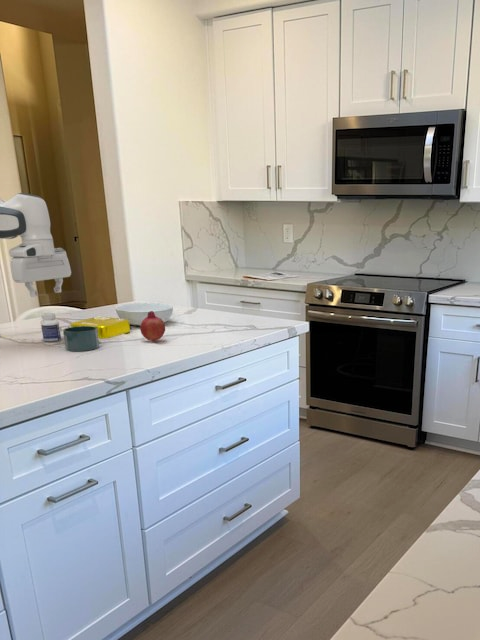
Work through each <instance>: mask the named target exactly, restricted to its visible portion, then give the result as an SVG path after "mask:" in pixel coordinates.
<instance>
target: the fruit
mask: <svg viewBox="0 0 480 640" xmlns="http://www.w3.org/2000/svg"><path fill="white" fill-rule="evenodd" d="M139 327H140V333H141V335H142V337H143V338H145V339H146V340H148V341H152V342H155V341H158V340H161V338H163V336H164V334H165V333H166V324H165V322H163V321H162V319H160V318H159V317H156V316H155V314H154V312H153V311H150V312H148V315H147V317H146V318H145V319H144V320H143V321H142V323H141V326H139Z"/></svg>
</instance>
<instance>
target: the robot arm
mask: <svg viewBox="0 0 480 640" xmlns="http://www.w3.org/2000/svg"><path fill="white" fill-rule="evenodd" d="M18 237H20V238H21V243H20V244H18V245H16V246H14V247H12V248H11V249H9V250H8V253H9V256H10V257H11V259H10V272H11V277H12V280H13V282H14V283H18V284H23V283H24V286H25V287H26V288H27V290H28V291H29V296H30V297H32V298H33V297H34V298H35V297H38V296H39V292H38V290H37V289H35V288H34V287H33V286H34V282H40V281H49V280H54V282H55V286H53V292H54V294H59V293H60V294H61V293H62V286H63V282H64V278H70V277H71V275H72V269H71V265H70V261H69V258H68V255H67V254H68V253H67V251H66V250H65V249H64V248H62V247H55V245H54V238H53V235H52V233H51V219H50V213H49V209H48V206H47V203H46V201H45V199H44V198H42V197H41V196H40V195H35V194H31V193H24V192H18V193H16V195H14V196H13V197H11V198H10V199H8V200H6V201H4V200H2V199H1V198H0V240H12V239H16V238H18Z"/></svg>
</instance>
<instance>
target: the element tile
mask: <svg viewBox="0 0 480 640" xmlns="http://www.w3.org/2000/svg"><path fill="white" fill-rule="evenodd" d="M79 326H91V327H96V328H97V331H98V339H99V340H100V339H101V340H102V339H103V340H104V339H110V338H113V337H117V336H119V335H123V334H124V335H125V334H127V333H128V334H129V333H130V332H131V324H130V323H129V320H128V319H120V318H119V317H118V318H117V317H109V316H103V315H98V316H94V317H89V318H85V319H82V320H76V321H73V322H71V323H70V327H79Z"/></svg>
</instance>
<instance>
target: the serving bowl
mask: <svg viewBox="0 0 480 640" xmlns="http://www.w3.org/2000/svg"><path fill="white" fill-rule="evenodd" d="M115 311H116V315H117V316H118V318H120V319H128V320H129V323H130V326H131V325H132V326H136V327H141V323H142V321H143V320H144V319H145V318H146V317H147V315H148V312H150V311H153V312H154V314H155V316H156V317H159V318H160V319H162V321H163V322H164V323H166V322H168V321H169V320H170V318H171V317H172V315H173V311H174V306H173V305H172V304H169V303H163V302H155V301H154V302H153V301H152V302H150V301H147V302H145V301H143V302H131V303H124V304H119V305H117V306H115Z"/></svg>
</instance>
